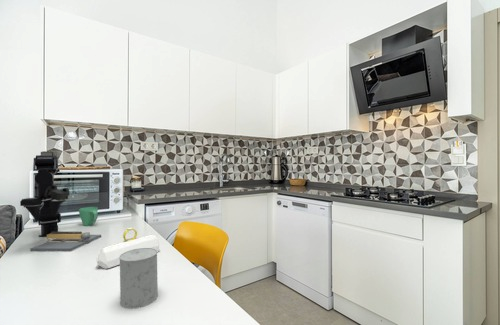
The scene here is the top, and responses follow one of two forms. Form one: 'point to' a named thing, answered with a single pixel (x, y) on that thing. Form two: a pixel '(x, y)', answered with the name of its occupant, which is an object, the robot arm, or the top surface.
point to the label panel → (64, 244)
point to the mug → (88, 215)
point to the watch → (128, 230)
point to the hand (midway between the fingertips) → (46, 218)
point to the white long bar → (124, 250)
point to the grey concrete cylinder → (138, 278)
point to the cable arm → (68, 235)
